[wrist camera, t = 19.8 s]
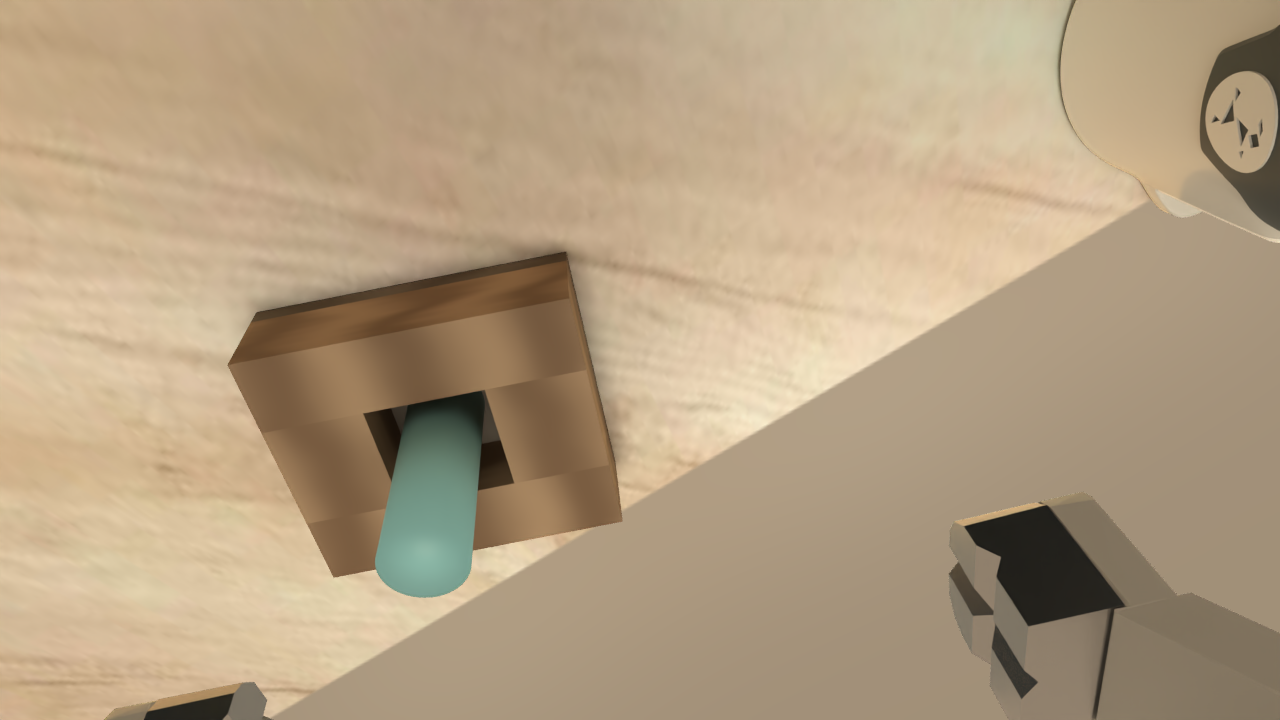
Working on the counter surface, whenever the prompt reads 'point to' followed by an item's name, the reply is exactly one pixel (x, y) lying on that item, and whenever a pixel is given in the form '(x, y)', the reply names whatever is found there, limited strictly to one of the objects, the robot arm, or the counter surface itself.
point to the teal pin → (433, 498)
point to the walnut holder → (427, 370)
